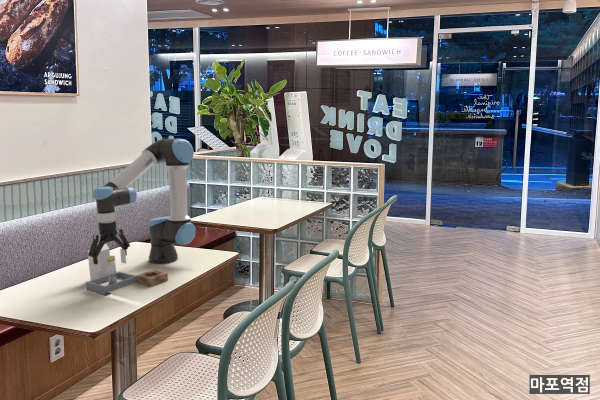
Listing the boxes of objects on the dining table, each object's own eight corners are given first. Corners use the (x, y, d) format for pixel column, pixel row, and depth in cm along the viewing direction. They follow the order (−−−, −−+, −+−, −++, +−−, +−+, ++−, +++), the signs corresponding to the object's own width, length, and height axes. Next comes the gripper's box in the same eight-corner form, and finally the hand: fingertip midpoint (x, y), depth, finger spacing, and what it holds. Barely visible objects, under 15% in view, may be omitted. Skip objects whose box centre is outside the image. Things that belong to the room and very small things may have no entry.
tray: (120, 279, 261) (119, 271, 260) (139, 284, 253) (138, 276, 252) (86, 290, 247) (85, 281, 246) (105, 296, 238) (104, 287, 238)
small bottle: (114, 283, 252) (111, 255, 249) (118, 284, 250) (116, 256, 247) (107, 285, 249) (104, 257, 246) (112, 287, 247) (109, 258, 244)
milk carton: (112, 278, 262) (108, 240, 259) (99, 282, 257) (95, 243, 253) (102, 276, 266) (99, 238, 263) (90, 280, 261) (86, 242, 257)
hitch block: (154, 279, 258) (153, 269, 258) (168, 283, 253) (167, 273, 252) (136, 285, 251) (135, 275, 250) (150, 289, 245) (150, 279, 244)
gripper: (125, 215, 256) (129, 258, 260) (76, 226, 236) (81, 272, 240) (135, 217, 252) (139, 261, 256) (86, 227, 232) (91, 275, 236)
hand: (111, 266), depth 248 cm, fingers open, 13 cm apart
